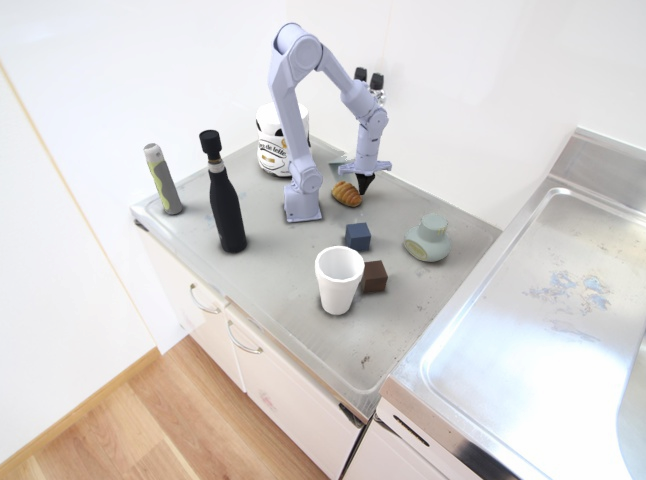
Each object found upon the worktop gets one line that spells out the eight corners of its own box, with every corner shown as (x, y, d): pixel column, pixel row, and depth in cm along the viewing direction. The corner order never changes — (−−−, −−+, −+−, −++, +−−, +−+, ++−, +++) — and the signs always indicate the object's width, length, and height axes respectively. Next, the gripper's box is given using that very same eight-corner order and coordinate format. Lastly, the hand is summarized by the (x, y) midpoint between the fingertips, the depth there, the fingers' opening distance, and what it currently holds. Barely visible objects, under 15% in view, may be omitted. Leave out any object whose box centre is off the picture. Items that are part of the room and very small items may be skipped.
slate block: (349, 252, 85) (351, 238, 82) (344, 238, 89) (346, 224, 85) (368, 250, 86) (371, 235, 82) (363, 236, 89) (366, 222, 85)
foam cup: (312, 287, 78) (313, 247, 68) (352, 284, 78) (358, 244, 69) (317, 323, 72) (318, 284, 62) (361, 319, 72) (368, 280, 62)
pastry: (367, 202, 99) (368, 191, 96) (349, 211, 96) (350, 200, 93) (345, 187, 104) (346, 176, 101) (328, 195, 101) (329, 184, 98)
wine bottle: (251, 239, 89) (231, 128, 67) (240, 255, 85) (215, 144, 63) (229, 233, 91) (202, 124, 68) (217, 250, 87) (185, 139, 64)
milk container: (257, 182, 106) (249, 126, 93) (261, 153, 118) (254, 100, 105) (312, 181, 106) (313, 125, 93) (311, 152, 118) (311, 98, 104)
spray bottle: (173, 217, 96) (148, 152, 81) (162, 211, 97) (135, 147, 83) (186, 208, 98) (164, 143, 83) (175, 202, 100) (151, 138, 85)
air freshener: (396, 245, 87) (404, 215, 79) (418, 232, 90) (428, 202, 82) (430, 272, 80) (442, 241, 73) (453, 256, 84) (466, 226, 76)
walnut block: (363, 293, 77) (365, 279, 73) (357, 276, 80) (359, 262, 76) (384, 291, 77) (388, 276, 73) (378, 274, 80) (381, 260, 77)
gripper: (343, 161, 86) (340, 204, 96) (399, 155, 87) (390, 199, 97) (337, 147, 91) (335, 189, 101) (390, 142, 92) (382, 184, 102)
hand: (361, 193), depth 99 cm, fingers closed
